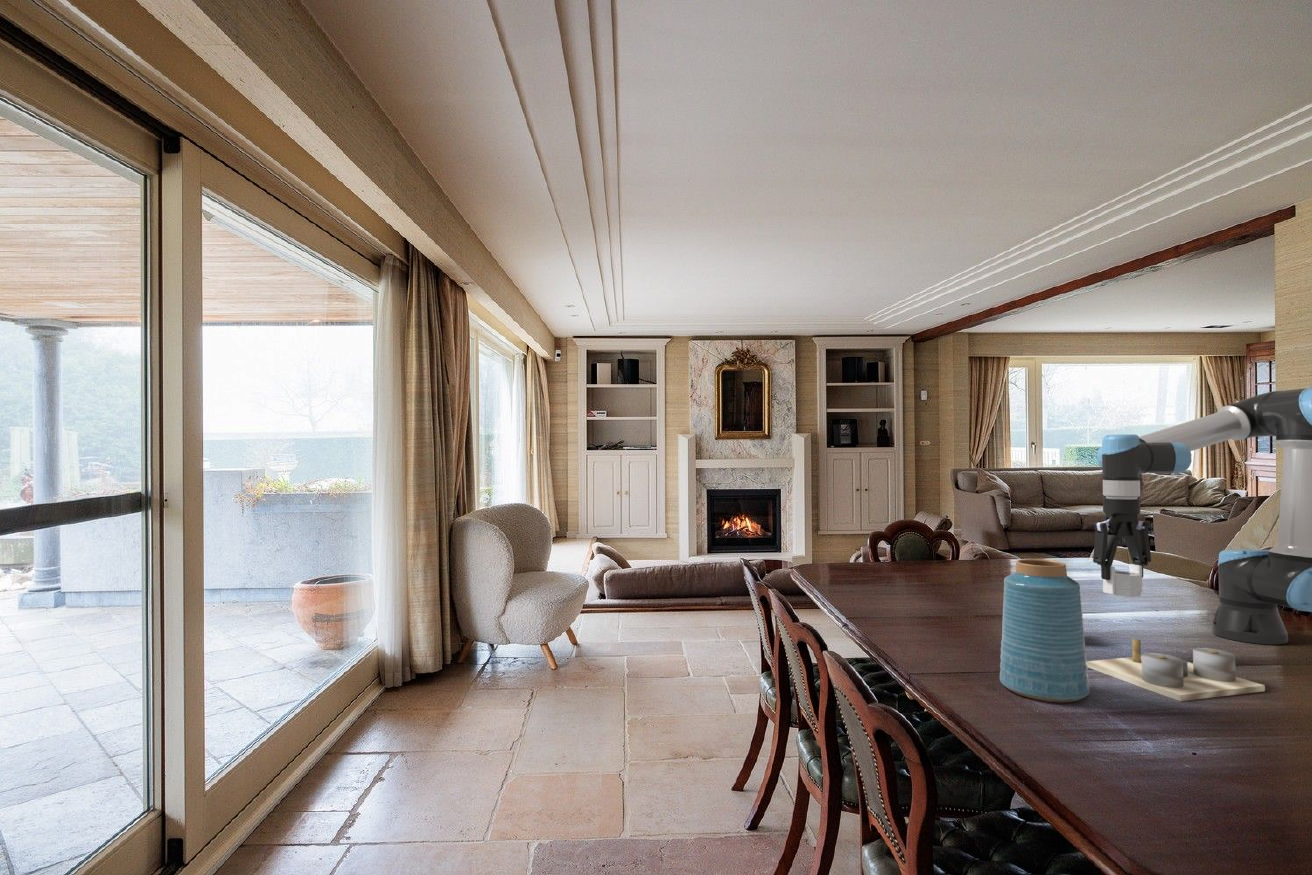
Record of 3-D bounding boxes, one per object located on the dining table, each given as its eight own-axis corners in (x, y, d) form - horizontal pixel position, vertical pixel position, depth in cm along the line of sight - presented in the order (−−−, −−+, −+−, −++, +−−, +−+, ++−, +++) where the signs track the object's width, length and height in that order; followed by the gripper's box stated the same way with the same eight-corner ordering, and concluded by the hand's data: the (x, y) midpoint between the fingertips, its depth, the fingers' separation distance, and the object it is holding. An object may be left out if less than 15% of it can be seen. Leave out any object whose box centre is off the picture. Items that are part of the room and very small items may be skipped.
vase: (1077, 681, 146) (1075, 557, 146) (1100, 708, 131) (1097, 571, 131) (994, 673, 151) (992, 554, 152) (1006, 699, 136) (1003, 567, 136)
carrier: (1162, 658, 160) (1162, 631, 160) (1264, 691, 139) (1264, 659, 139) (1086, 666, 155) (1085, 638, 155) (1179, 701, 134) (1178, 668, 134)
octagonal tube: (1122, 589, 167) (1121, 569, 167) (1147, 595, 160) (1147, 574, 161) (1098, 591, 166) (1098, 570, 166) (1123, 597, 159) (1123, 576, 159)
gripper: (1141, 495, 169) (1142, 587, 169) (1073, 497, 165) (1075, 591, 165) (1169, 498, 162) (1171, 593, 162) (1099, 499, 158) (1101, 597, 158)
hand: (1122, 592), depth 163 cm, fingers closed on octagonal tube, 7 cm apart
